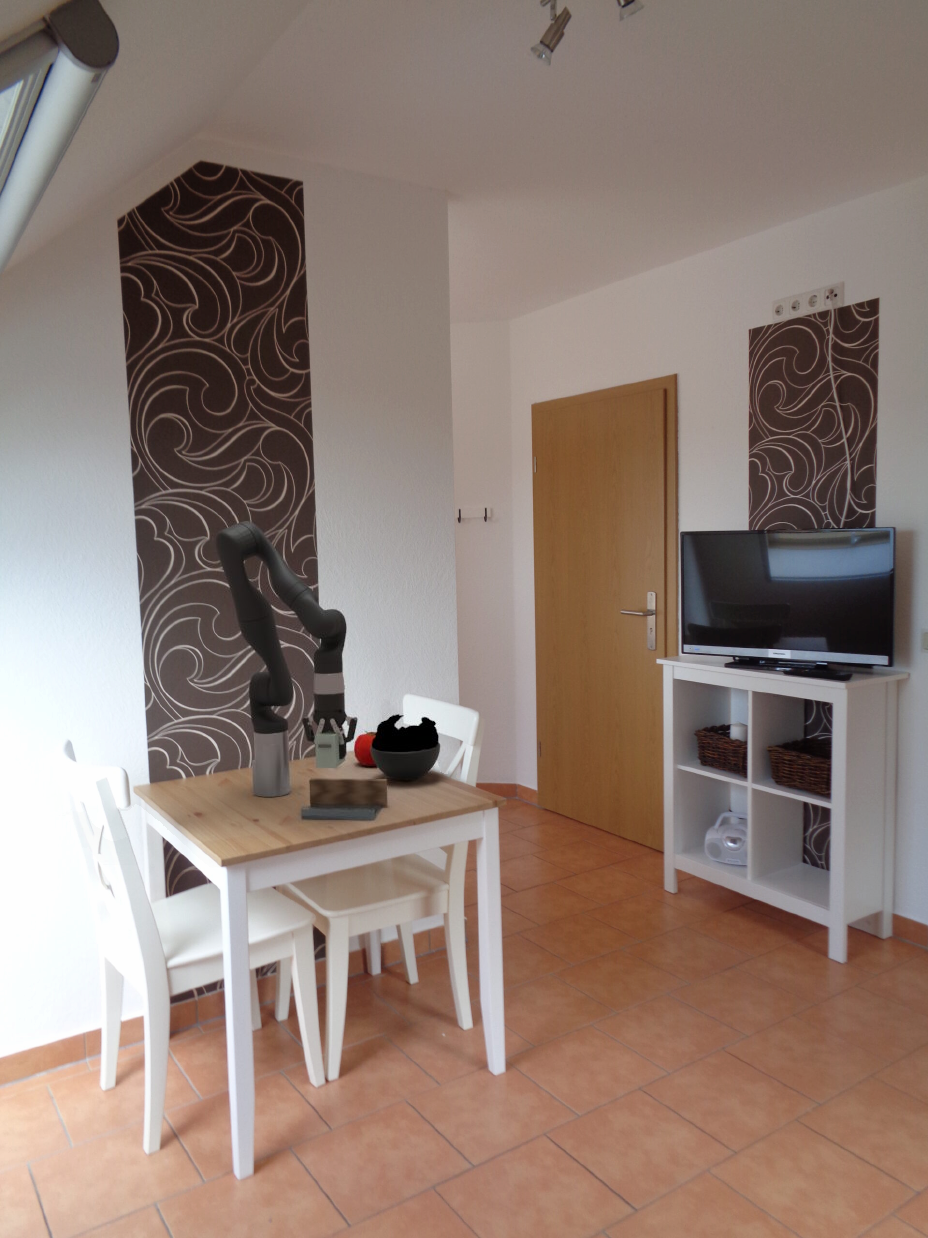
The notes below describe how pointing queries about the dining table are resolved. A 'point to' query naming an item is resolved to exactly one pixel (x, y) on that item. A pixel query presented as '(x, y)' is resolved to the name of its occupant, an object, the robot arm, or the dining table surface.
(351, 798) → the wall board
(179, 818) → the dining table surface
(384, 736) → the coal bowl
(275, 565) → the robot arm
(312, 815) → the dark grey flat slab
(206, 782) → the dining table surface
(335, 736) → the cabinet
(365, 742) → the tomato
